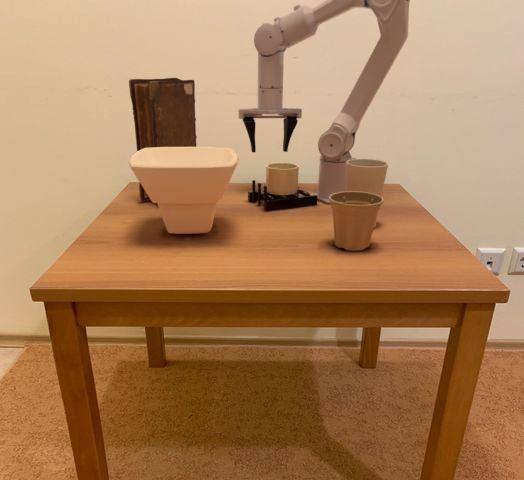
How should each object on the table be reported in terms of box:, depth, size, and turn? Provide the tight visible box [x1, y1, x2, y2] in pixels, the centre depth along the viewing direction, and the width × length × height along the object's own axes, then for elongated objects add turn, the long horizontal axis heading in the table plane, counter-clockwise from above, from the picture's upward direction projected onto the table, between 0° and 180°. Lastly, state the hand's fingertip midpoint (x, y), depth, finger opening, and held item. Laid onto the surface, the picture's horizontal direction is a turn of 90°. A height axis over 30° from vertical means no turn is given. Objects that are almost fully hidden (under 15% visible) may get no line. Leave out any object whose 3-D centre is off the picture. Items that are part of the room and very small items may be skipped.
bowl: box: [128, 146, 239, 235], centre depth 96 cm, size 19×19×14 cm
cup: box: [346, 158, 389, 228], centre depth 101 cm, size 8×8×12 cm
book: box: [128, 77, 197, 203], centre depth 114 cm, size 17×7×25 cm, turn 144°
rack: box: [247, 179, 318, 212], centre depth 116 cm, size 13×10×5 cm
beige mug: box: [265, 162, 300, 195], centre depth 116 cm, size 11×7×6 cm, turn 24°
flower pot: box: [329, 191, 385, 252], centre depth 91 cm, size 9×9×9 cm
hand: (269, 151), depth 122 cm, fingers open, 7 cm apart
